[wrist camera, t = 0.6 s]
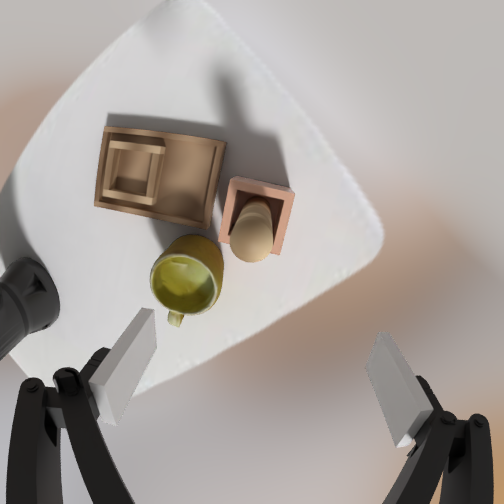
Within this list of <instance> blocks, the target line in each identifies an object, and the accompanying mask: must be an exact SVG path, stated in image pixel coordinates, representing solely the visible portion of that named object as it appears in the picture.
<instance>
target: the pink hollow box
mask: <svg viewBox="0 0 504 504" xmlns="http://www.w3.org/2000/svg"><path fill="white" fill-rule="evenodd" d="M253 196H261V197H264V198H265V199H266V200H267V201H268V202H269V204H270V208H271V219H272V232H273V247H272V250H271V252H270V253H272V254H277V255H280V252H281V248H282V244H283V240H284V236H285V232H286V229H287V225H288V221H289V217H290V213H291V209H292V205H293V201H294V196H295V193H294V192H293V191H292V189H291V188H289V187H285V186H281V185H276V184H272V183H268V182H263V181H259V180H254V179H249V178H245V177H240V176H235V177H233V178H232V179H230V183H229V188H228V193H227V197H226V202H225V207H224V212H223V217H222V222H221V228H220V233H219V238H218V242H223V243H227V244H230V235H231V233H232V230H233V228H234V226H235V224H236V222H237V220H238V217H239V215H240V213H241V211H242V209H243V207H244V205H245V203H246V201H247V200H248V199H249V198H251V197H253Z"/></svg>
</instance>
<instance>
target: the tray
mask: <svg viewBox="0 0 504 504" xmlns="http://www.w3.org/2000/svg"><path fill="white" fill-rule="evenodd" d="M226 144H227V142H224V141H219V140H213V139H207V138H201V137H195V136H188V135H181V134H174V133H167V132H159V131H151V130H142V129H132V128H121V127H109V126H105V127H104V132H103V138H102V144H101V150H100V157H99V164H98V171H97V180H96V189H95V199H94V206H96V207H101V208H106V209H111V210H116V211H121V212H125V213H130V214H135V215H140V216H145V217H149V218H154V219H159V220H163V221H168V222H173V223H178V224H182V225H187V226H191V227H196V228H201V229H205V230H207V229H208V228H209V227H210V223H211V218H212V212H213V207H214V202H215V197H216V192H217V187H218V182H219V177H220V172H221V167H222V162H223V157H224V153H225V148H226Z"/></svg>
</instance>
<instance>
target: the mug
mask: <svg viewBox="0 0 504 504" xmlns="http://www.w3.org/2000/svg"><path fill="white" fill-rule="evenodd" d="M223 270H224V262H223V257H222V254H221V252H220V250H219V249H218V247H217V246H216V245H215V244H214V243H213V242H212V241H211V240H209V239H208V238H205V237H203V236H200V235H185V236H182V237H180V238H178V239H176V240H175V241H174V242H173V243H172V244H171V245H170V247H169V248H168V249H167V250H166V251H165V252H163V253H162V254H161V255H160V257H159V258H158V259H157V260H156V261H155V263H154V265H153V267H152V269H151V273H150V287H151V291H152V293H153V295H154V297H155V298H156V300H157V301H158V302H159V303H160V304H161V305H162V306H164V307H165V308H167V309H168V310H170V311H169V314H168V322H169V324H171V325H173V326H176V327H178V328H179V326H180V324H181V322H182V319H183V317H184V315H188V316H189V315H198V314H202V313H204V312H206V311H207V310H209V309H210V308H211V307H212V306H213V305H214V304H215V302H216V301H217V299H218V297H219V295H220V292H221V288H222V281H223Z"/></svg>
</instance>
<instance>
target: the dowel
mask: <svg viewBox="0 0 504 504" xmlns="http://www.w3.org/2000/svg"><path fill="white" fill-rule="evenodd" d="M230 247H231V250H232V252H233V253H234V254H235V256H236V257H238V258H239V259H241V260H243V261H245V262H258V261H261V260H263V259H264V258H266V257H267V256H268V255H269V253H270V252H271V250H272V247H273V232H272V219H271V208H270V204H269V202H268V201H267V200H266V199H265V198H264V197H261V196H253V197H251V198H249V199H248V200H247V201H246V203H245V205H244V207H243V209H242V211H241V213H240V215H239V217H238V220H237V222H236V224H235V226H234V228H233V230H232V233H231V235H230Z"/></svg>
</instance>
